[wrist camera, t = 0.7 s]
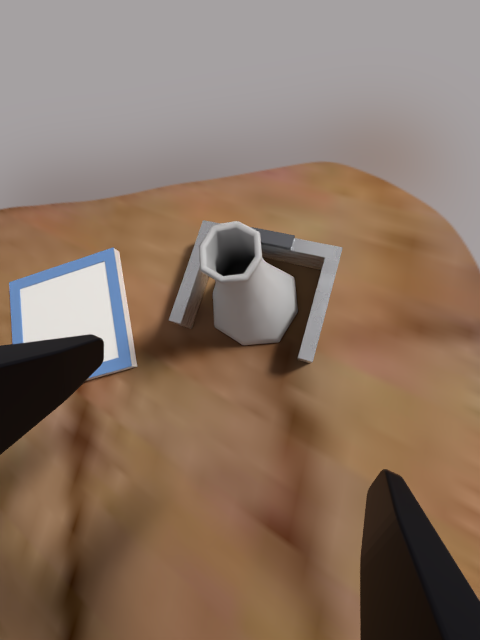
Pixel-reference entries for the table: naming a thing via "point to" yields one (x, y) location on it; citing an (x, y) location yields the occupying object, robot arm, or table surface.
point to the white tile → (77, 307)
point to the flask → (246, 286)
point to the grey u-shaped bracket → (275, 249)
